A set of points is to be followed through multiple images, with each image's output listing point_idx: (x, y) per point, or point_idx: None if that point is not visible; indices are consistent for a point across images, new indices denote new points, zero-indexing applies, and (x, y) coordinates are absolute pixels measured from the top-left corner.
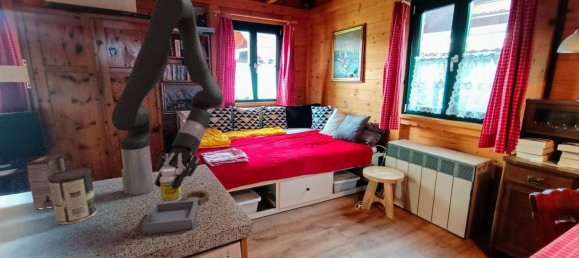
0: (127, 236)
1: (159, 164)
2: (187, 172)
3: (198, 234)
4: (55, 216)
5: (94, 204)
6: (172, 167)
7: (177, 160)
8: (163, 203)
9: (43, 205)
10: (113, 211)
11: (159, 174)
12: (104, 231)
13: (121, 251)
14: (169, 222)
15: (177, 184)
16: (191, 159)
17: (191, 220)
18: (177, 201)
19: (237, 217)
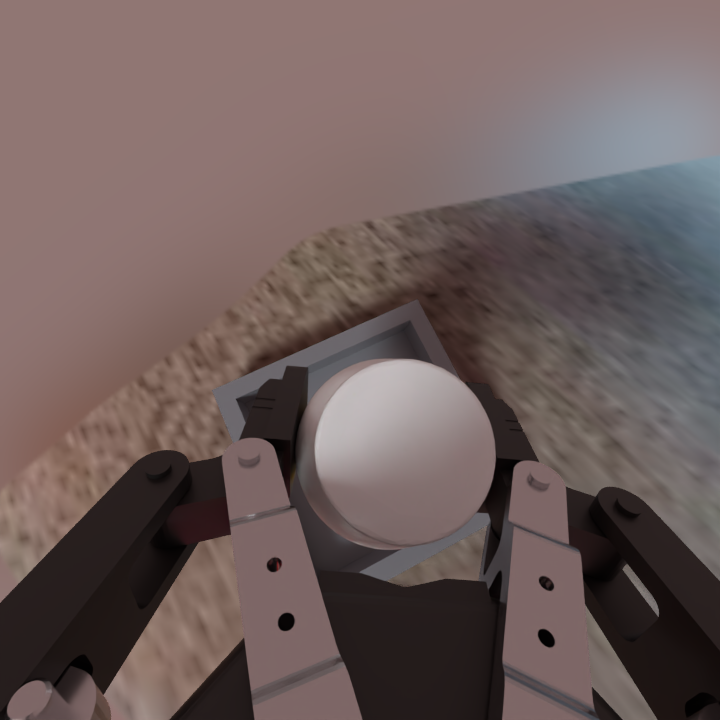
0: (457, 293)
1: (650, 557)
2: (140, 469)
3: (180, 366)
4: None
5: None
6: (393, 515)
7: (376, 660)
8: (477, 513)
9: None
10: (705, 449)
11: (513, 443)
12: (575, 302)
13: (401, 219)
14: (310, 348)
15: (261, 390)
16: (15, 699)
17: (215, 389)
18: (414, 559)
19: (43, 552)
